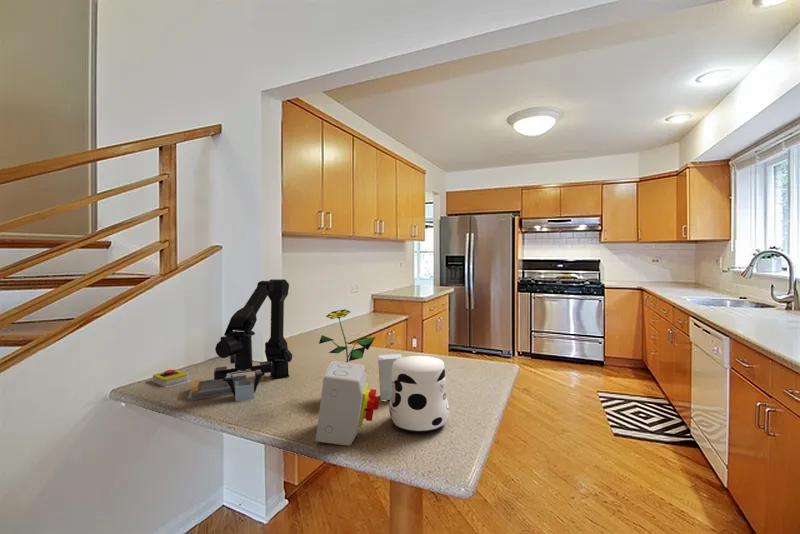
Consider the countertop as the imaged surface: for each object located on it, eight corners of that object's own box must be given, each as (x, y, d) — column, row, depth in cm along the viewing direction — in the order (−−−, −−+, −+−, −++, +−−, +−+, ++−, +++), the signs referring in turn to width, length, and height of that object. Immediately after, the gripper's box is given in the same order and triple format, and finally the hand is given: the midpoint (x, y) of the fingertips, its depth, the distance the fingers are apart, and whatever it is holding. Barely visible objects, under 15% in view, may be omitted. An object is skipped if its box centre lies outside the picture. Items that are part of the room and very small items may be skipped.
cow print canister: (460, 422, 112) (459, 361, 111) (424, 444, 99) (423, 376, 98) (415, 406, 124) (414, 351, 123) (377, 425, 111) (376, 364, 110)
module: (253, 392, 138) (252, 378, 138) (254, 398, 133) (253, 383, 132) (235, 395, 136) (234, 380, 135) (235, 401, 130) (235, 386, 130)
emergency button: (174, 365, 160) (191, 371, 151) (174, 375, 160) (192, 382, 152) (149, 371, 153) (166, 378, 144) (150, 382, 153) (167, 389, 144)
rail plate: (248, 380, 151) (248, 370, 151) (250, 391, 139) (249, 380, 139) (191, 388, 143) (191, 378, 143) (187, 401, 131) (187, 389, 131)
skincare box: (403, 394, 134) (402, 353, 133) (404, 401, 128) (403, 357, 127) (379, 395, 134) (378, 353, 133) (379, 402, 127) (378, 358, 127)
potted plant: (315, 395, 134) (313, 311, 133) (365, 387, 141) (364, 307, 140) (326, 415, 118) (323, 319, 116) (382, 405, 125) (381, 314, 124)
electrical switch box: (371, 454, 99) (381, 379, 98) (314, 446, 99) (324, 371, 98) (375, 428, 113) (384, 362, 113) (326, 421, 114) (334, 355, 113)
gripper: (269, 342, 144) (270, 382, 145) (214, 348, 137) (216, 390, 138) (272, 349, 134) (273, 392, 135) (213, 355, 127) (214, 401, 127)
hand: (244, 394), depth 134 cm, fingers closed on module, 6 cm apart
